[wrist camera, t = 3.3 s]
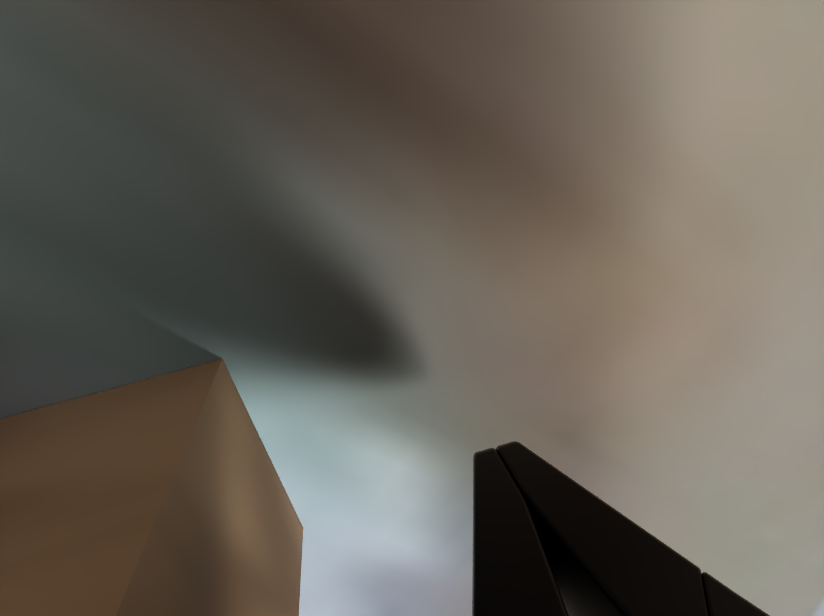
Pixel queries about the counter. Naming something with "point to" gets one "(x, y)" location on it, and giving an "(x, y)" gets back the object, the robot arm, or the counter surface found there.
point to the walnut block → (145, 505)
